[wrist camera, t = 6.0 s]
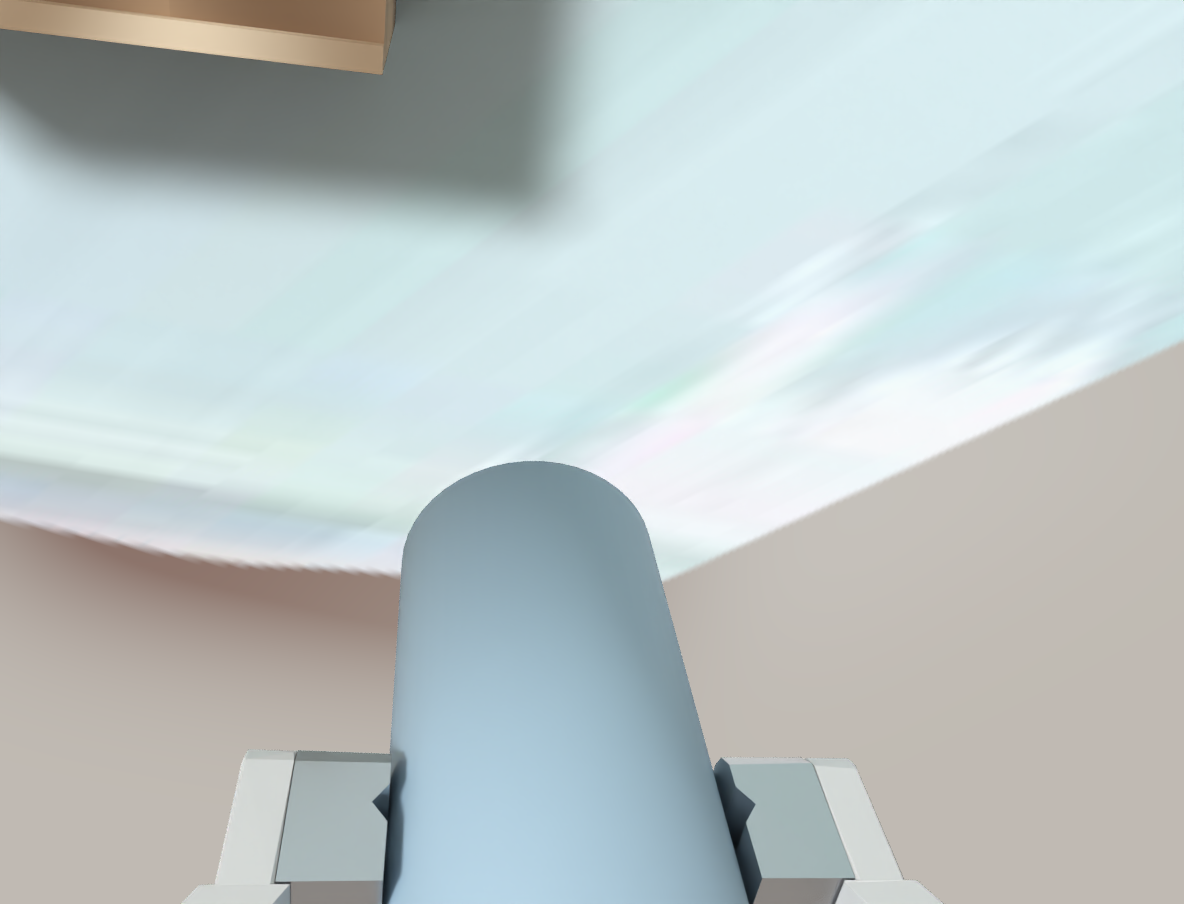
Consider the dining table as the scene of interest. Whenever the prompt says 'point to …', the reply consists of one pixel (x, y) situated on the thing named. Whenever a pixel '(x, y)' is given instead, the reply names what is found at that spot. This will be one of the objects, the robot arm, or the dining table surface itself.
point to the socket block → (224, 27)
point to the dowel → (545, 707)
